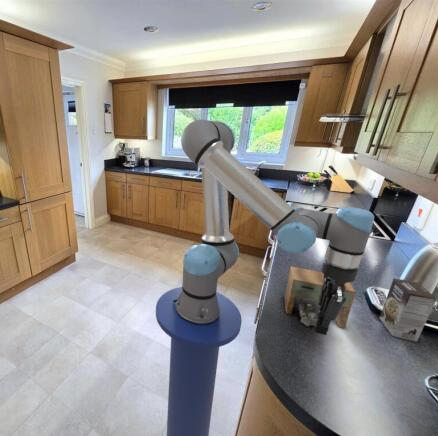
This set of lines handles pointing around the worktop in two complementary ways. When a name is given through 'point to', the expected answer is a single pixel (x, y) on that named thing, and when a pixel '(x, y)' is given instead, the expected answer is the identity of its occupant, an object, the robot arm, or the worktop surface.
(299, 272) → the drawer unit
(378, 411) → the worktop surface
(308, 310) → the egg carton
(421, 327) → the coffee box
